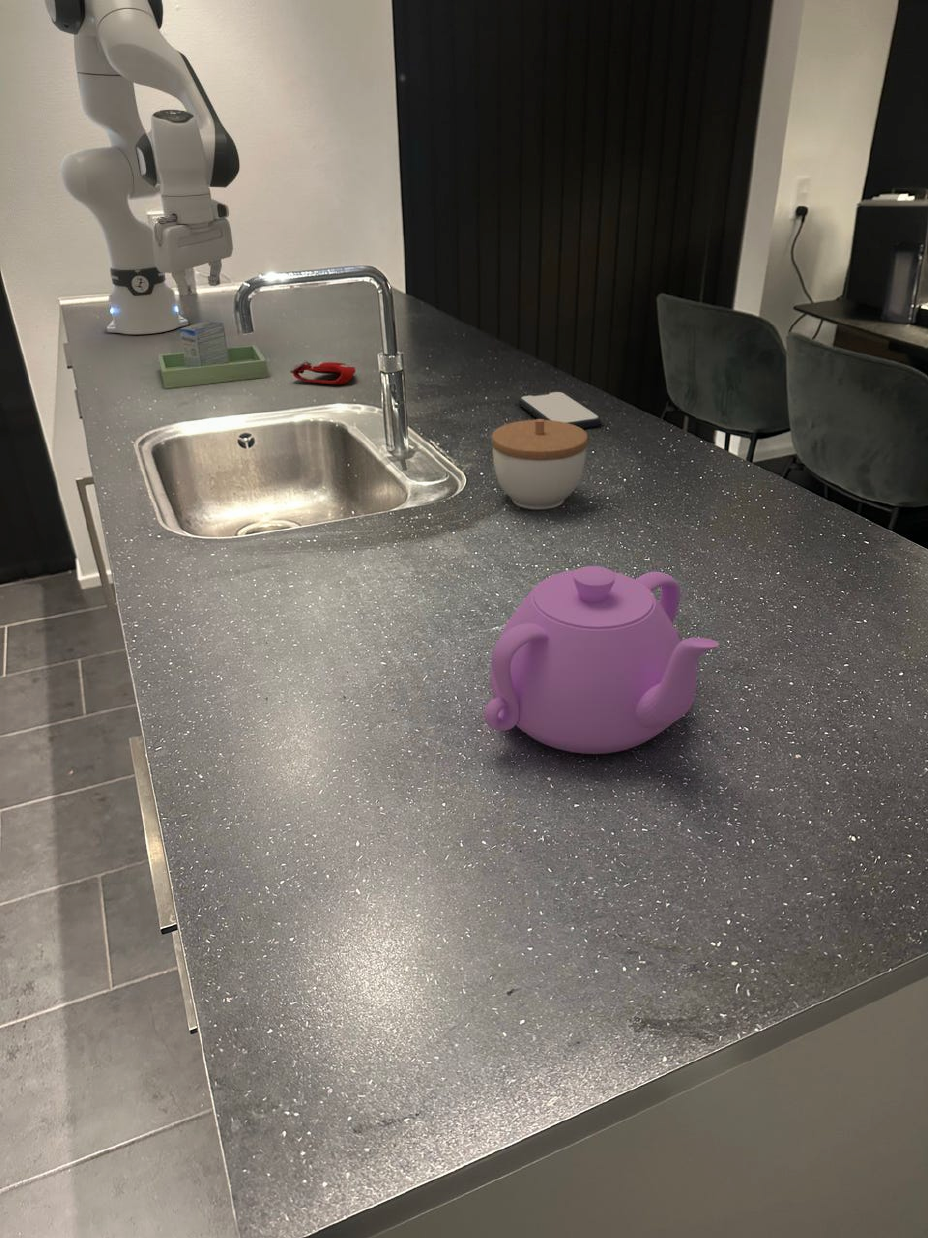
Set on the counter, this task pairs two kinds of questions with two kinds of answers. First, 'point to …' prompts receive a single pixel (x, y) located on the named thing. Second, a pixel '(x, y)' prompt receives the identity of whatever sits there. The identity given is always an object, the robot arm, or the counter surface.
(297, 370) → the tracker holder
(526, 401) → the phone case
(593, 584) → the teapot
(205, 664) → the counter surface
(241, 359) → the tray
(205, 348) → the medicine box
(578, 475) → the lidded bowl
